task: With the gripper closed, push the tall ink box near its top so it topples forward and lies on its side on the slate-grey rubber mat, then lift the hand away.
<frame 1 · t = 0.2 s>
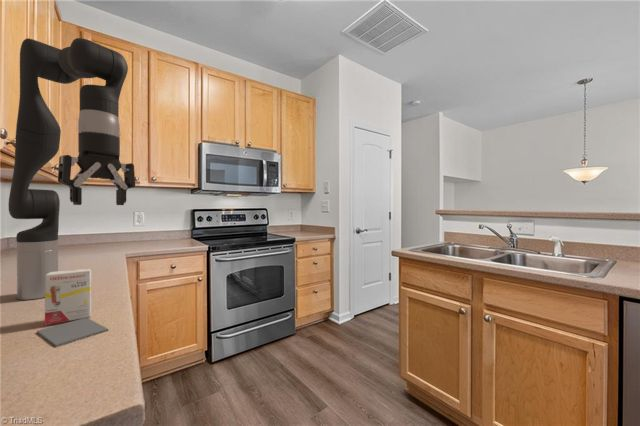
hand: (99, 205, 65), 29 cm above the counter, fingers open, 8 cm apart
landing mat: (72, 331, 64), on the counter
ink box: (69, 319, 70), on the counter, touching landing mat
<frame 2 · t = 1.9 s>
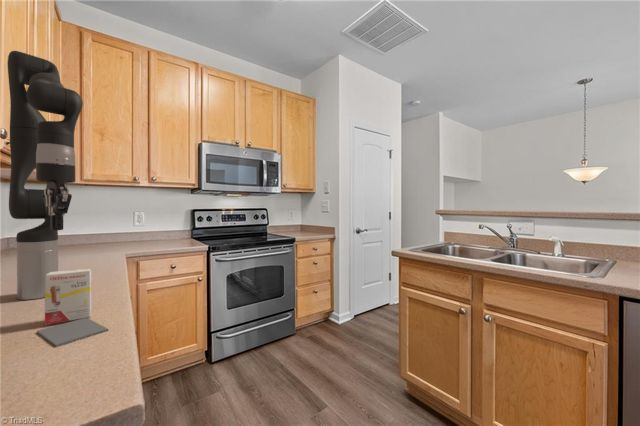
hand: (56, 230, 74), 22 cm above the counter, fingers closed
nothing on the counter moved.
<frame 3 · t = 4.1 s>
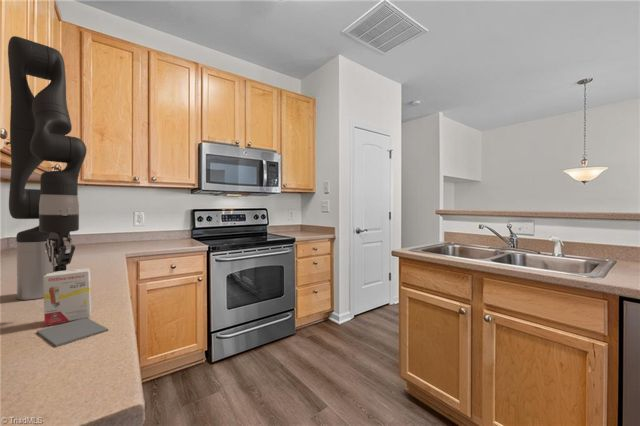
hand: (59, 280, 73), 9 cm above the counter, fingers closed
ink box: (69, 319, 70), on the counter, touching gripper, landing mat
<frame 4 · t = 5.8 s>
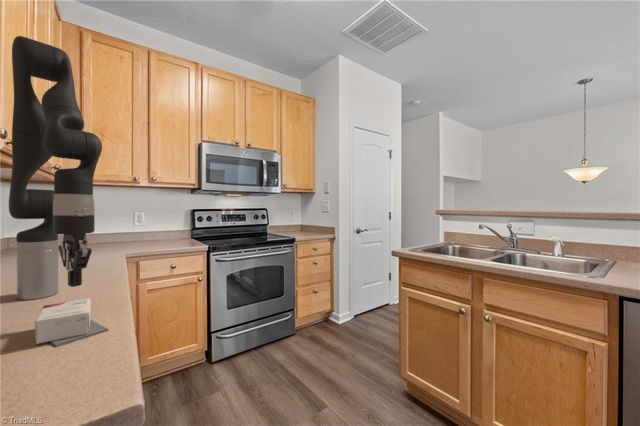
hand: (74, 285, 68), 9 cm above the counter, fingers closed
ink box: (68, 311, 69), point 3 cm above the counter, touching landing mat
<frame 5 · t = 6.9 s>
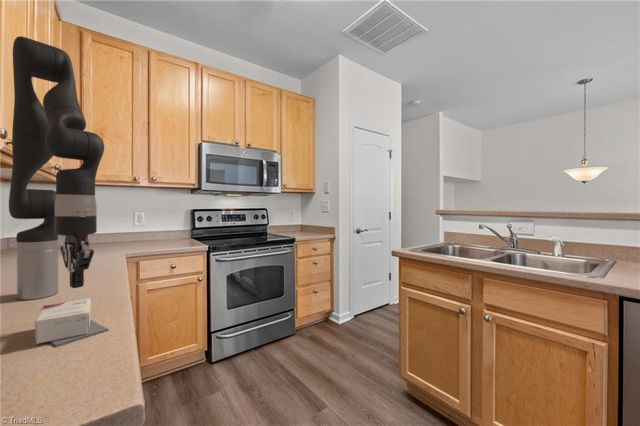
hand: (76, 286, 68), 9 cm above the counter, fingers closed
nothing on the counter moved.
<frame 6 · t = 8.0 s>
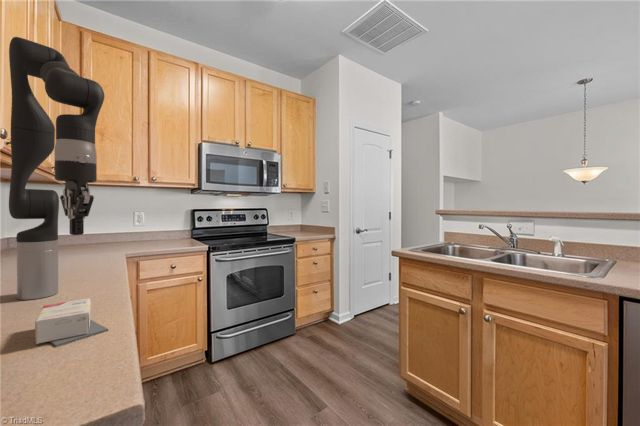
hand: (76, 234, 67), 21 cm above the counter, fingers closed
nothing on the counter moved.
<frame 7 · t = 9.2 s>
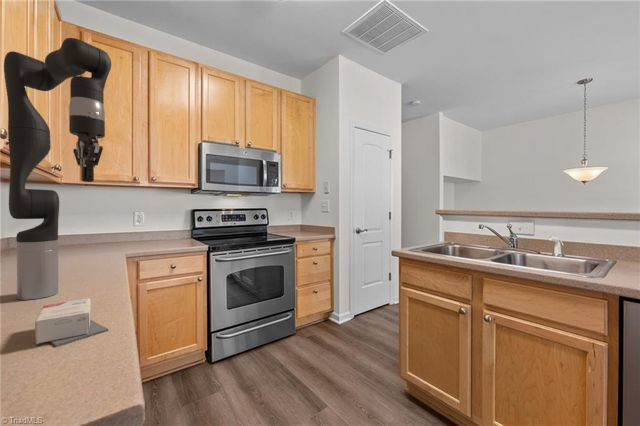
hand: (87, 181, 78), 35 cm above the counter, fingers closed
nothing on the counter moved.
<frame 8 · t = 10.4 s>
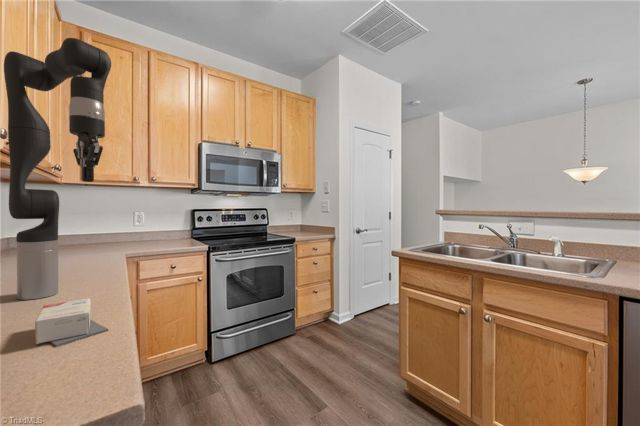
hand: (87, 181, 78), 35 cm above the counter, fingers closed
nothing on the counter moved.
at the end: ink box tilted 90°; ink box touching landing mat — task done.
